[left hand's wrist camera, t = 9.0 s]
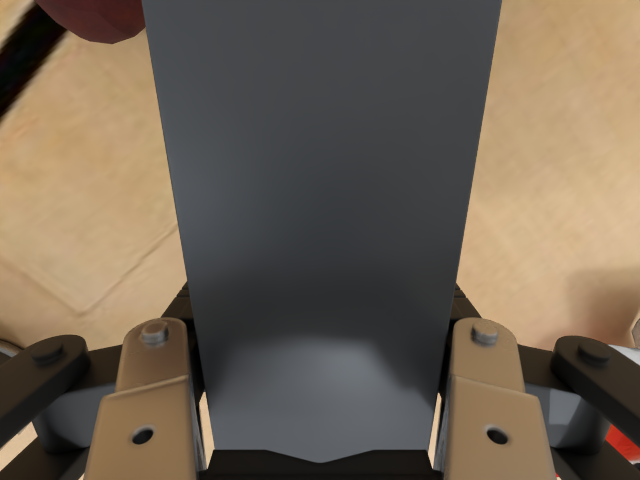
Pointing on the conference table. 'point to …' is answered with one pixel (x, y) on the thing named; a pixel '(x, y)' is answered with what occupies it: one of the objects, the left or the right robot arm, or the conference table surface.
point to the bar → (321, 207)
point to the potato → (98, 18)
